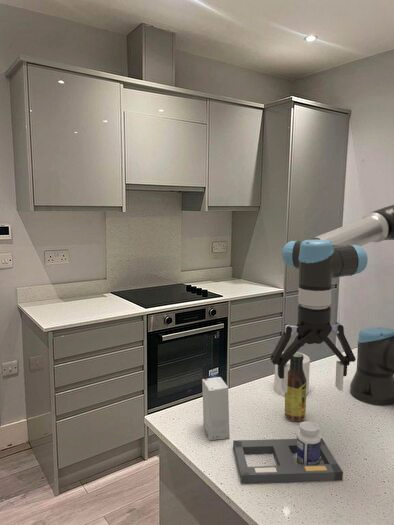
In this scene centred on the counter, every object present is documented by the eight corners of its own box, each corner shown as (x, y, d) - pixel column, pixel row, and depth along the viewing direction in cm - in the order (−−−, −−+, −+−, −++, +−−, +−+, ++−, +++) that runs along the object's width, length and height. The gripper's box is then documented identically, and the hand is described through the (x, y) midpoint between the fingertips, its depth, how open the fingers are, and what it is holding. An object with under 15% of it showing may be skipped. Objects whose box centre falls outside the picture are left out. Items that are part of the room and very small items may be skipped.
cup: (294, 401, 134) (295, 366, 132) (267, 389, 143) (268, 356, 141) (315, 391, 141) (316, 358, 139) (288, 380, 150) (289, 348, 148)
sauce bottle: (305, 423, 120) (308, 359, 117) (284, 421, 121) (286, 358, 118) (304, 412, 126) (307, 351, 123) (284, 410, 128) (286, 350, 125)
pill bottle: (321, 459, 103) (323, 422, 102) (317, 472, 98) (319, 434, 97) (298, 453, 106) (299, 417, 104) (294, 466, 100) (295, 428, 99)
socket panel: (321, 445, 109) (321, 437, 109) (342, 480, 95) (342, 471, 95) (233, 448, 108) (233, 439, 108) (241, 483, 94) (241, 474, 94)
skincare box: (229, 438, 112) (230, 388, 110) (208, 441, 111) (209, 390, 109) (221, 423, 120) (221, 375, 118) (201, 425, 119) (201, 377, 117)
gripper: (358, 300, 100) (354, 380, 103) (259, 302, 99) (258, 384, 102) (373, 307, 93) (368, 394, 96) (265, 310, 92) (264, 398, 95)
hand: (311, 389), depth 99 cm, fingers open, 13 cm apart
